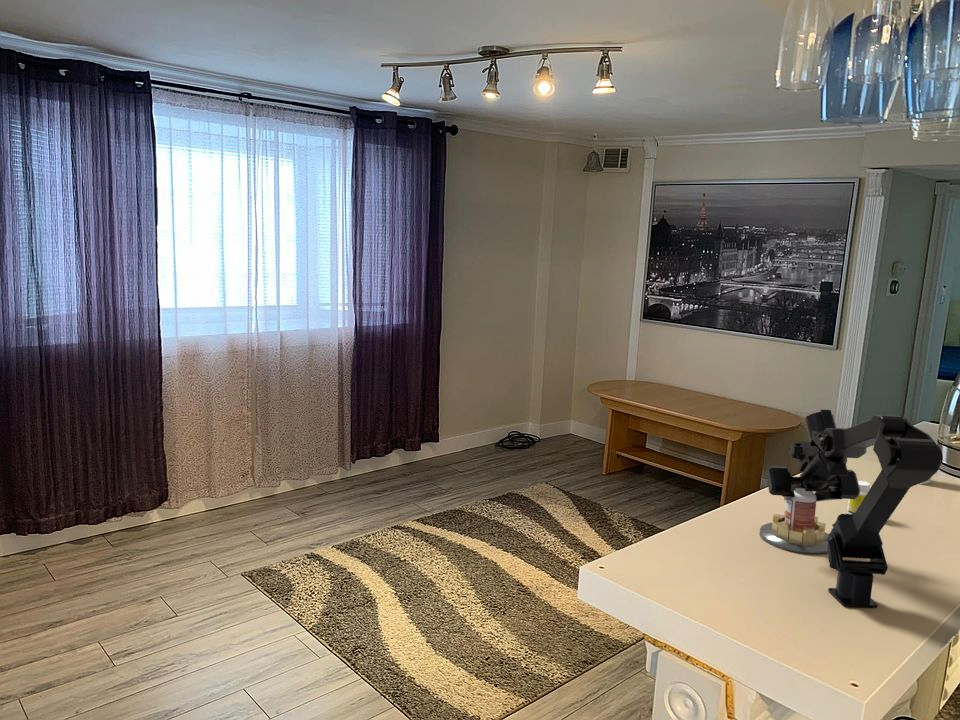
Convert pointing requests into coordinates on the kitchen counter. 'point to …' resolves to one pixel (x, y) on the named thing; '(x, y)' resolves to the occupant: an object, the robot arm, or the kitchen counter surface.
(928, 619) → the kitchen counter surface
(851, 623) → the kitchen counter surface
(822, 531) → the crown on disc
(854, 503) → the supplement bottle
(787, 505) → the pill bottle
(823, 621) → the kitchen counter surface
